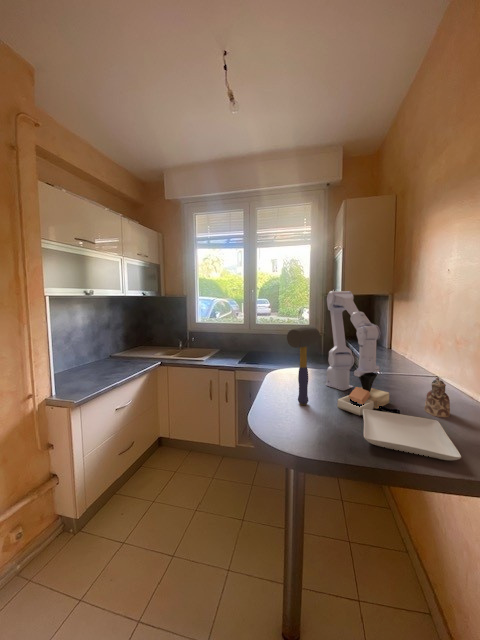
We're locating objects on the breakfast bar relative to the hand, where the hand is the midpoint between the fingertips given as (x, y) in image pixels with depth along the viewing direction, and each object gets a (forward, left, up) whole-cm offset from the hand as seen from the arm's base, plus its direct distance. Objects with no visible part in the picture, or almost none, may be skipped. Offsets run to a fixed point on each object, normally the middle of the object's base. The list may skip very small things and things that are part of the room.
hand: (366, 391), depth 99 cm
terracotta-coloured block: (0, -4, -2) cm, 4 cm away
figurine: (+19, +12, -5) cm, 23 cm away
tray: (0, -8, -5) cm, 9 cm away
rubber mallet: (-14, -20, -5) cm, 25 cm away
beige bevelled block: (0, +3, -5) cm, 6 cm away
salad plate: (+19, -15, -5) cm, 25 cm away
